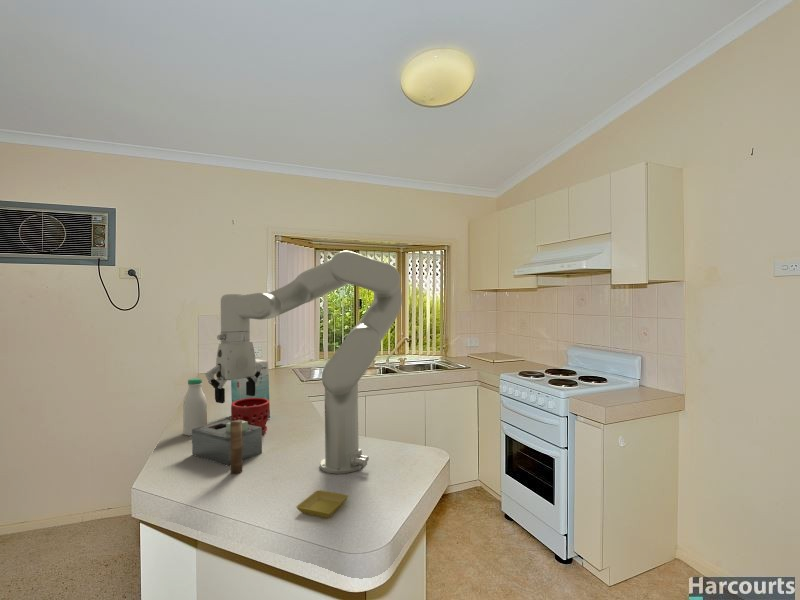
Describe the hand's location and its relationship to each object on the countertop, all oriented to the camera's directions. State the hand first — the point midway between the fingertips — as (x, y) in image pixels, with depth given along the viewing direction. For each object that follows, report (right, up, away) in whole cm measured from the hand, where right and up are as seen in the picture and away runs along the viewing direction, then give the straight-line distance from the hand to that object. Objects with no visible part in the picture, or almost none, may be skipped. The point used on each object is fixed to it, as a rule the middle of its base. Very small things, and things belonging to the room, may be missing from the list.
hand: (235, 398), depth 110 cm
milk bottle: (-30, -22, +36) cm, 51 cm away
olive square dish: (+29, -20, -22) cm, 41 cm away
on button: (-4, -15, +11) cm, 19 cm away
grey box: (-8, -21, +14) cm, 26 cm away
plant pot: (-8, -22, +33) cm, 40 cm away
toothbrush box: (-18, -22, +56) cm, 63 cm away
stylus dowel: (0, -20, -1) cm, 20 cm away
